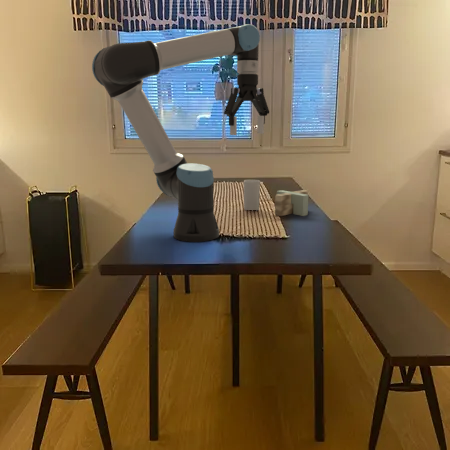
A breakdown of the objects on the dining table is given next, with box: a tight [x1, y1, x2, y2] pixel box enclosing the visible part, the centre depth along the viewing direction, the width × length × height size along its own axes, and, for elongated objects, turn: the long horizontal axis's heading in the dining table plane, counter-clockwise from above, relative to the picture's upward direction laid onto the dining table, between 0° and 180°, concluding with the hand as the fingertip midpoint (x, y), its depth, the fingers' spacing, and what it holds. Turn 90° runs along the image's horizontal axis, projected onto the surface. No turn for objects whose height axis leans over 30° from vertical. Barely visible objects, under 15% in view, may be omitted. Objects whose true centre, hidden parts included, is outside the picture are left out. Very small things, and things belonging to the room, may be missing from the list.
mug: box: [243, 179, 261, 212], centre depth 194 cm, size 10×7×12 cm, turn 172°
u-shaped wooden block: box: [274, 189, 309, 217], centre depth 187 cm, size 16×3×8 cm, turn 130°
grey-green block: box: [276, 189, 309, 217], centre depth 186 cm, size 3×14×8 cm, turn 40°
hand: (247, 134), depth 171 cm, fingers open, 13 cm apart
